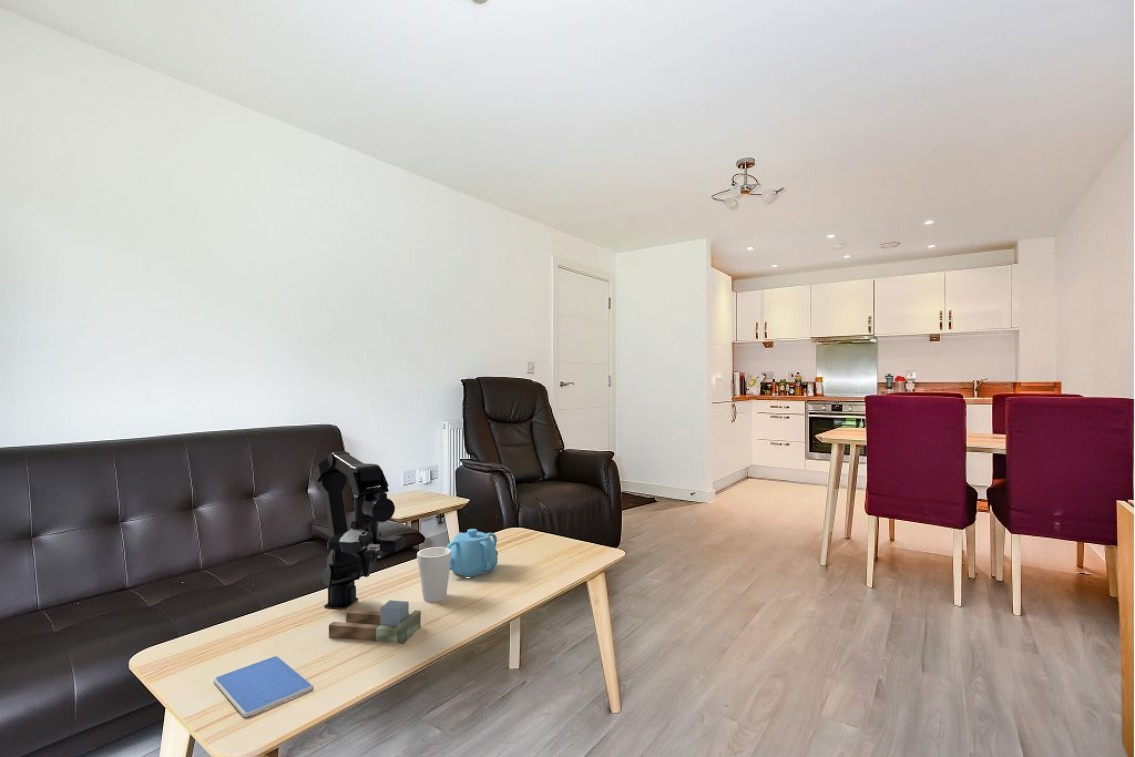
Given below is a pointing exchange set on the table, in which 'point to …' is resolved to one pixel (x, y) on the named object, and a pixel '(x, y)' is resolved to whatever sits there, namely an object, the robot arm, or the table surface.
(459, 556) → the decorative pot
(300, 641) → the table surface
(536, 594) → the table surface
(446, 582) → the foam cup
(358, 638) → the u-shaped frame
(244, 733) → the table surface
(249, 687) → the tablet computer
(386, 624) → the block
